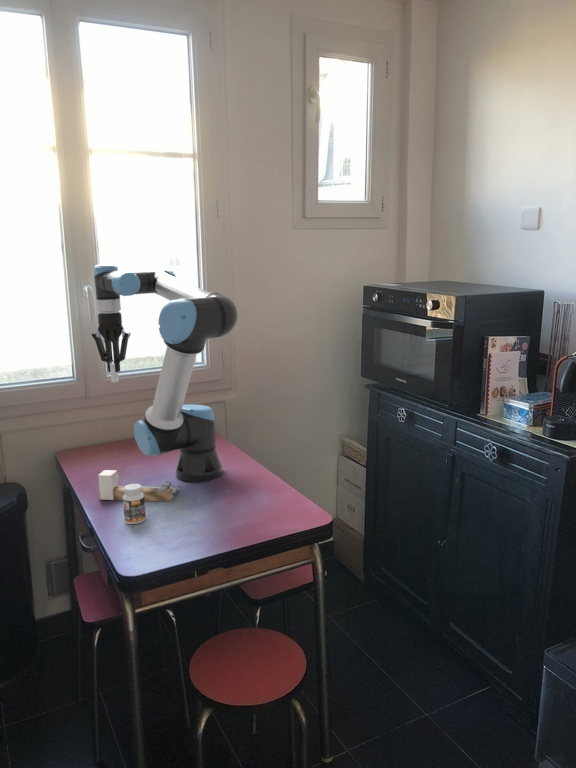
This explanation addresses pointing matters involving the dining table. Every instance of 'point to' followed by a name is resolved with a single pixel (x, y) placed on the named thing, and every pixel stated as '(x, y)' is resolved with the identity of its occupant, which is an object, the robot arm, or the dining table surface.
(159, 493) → the beam
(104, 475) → the block
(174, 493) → the hole plate
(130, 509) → the pill bottle
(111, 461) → the dining table surface
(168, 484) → the fixed leg
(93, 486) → the dining table surface
